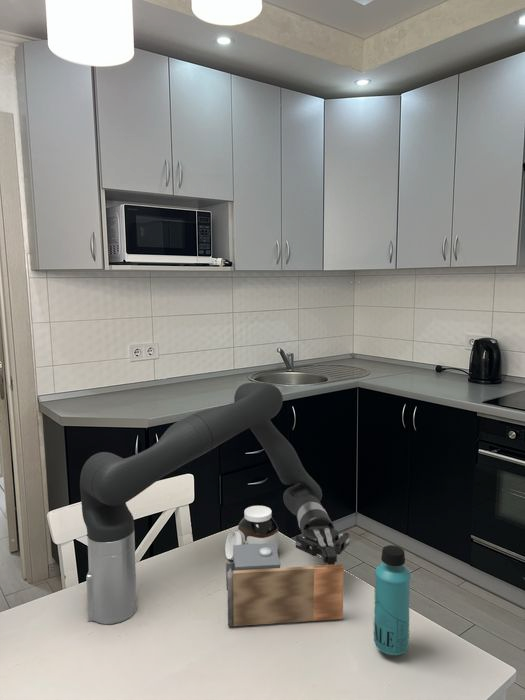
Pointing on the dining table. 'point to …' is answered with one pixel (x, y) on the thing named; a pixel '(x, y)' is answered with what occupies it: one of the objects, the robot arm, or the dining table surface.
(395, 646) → the beverage bottle
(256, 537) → the spread jar
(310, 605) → the door
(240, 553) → the box
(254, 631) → the dining table surface
